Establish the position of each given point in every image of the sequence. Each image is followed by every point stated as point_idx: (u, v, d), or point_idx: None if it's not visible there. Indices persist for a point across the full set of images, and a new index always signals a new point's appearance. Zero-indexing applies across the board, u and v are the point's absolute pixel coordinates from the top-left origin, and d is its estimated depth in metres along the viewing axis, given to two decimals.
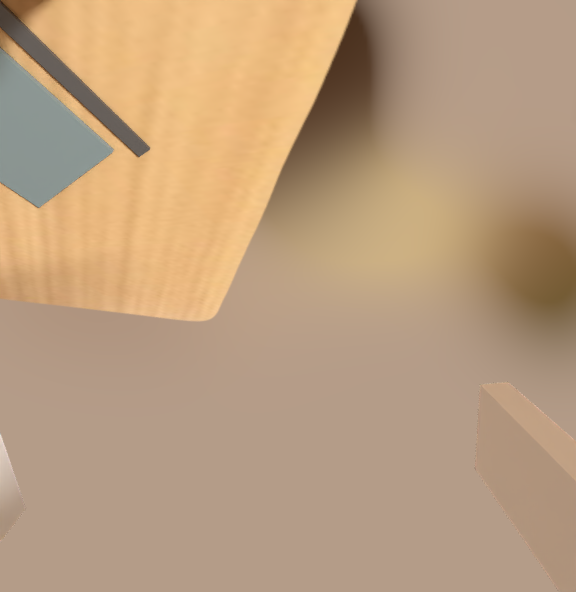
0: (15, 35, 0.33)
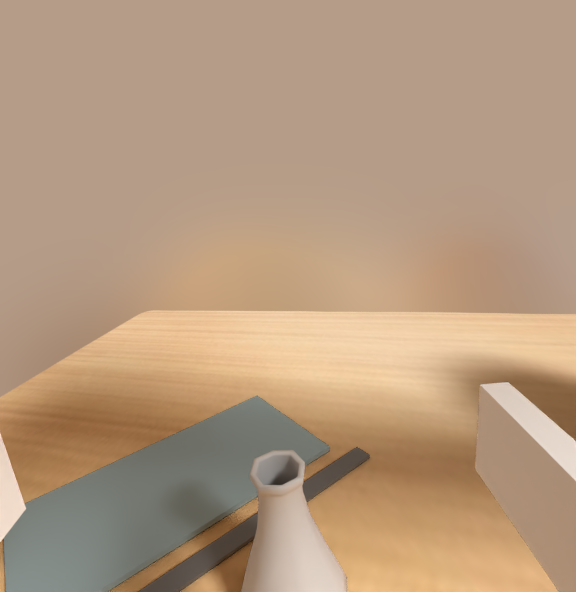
0: (201, 555, 0.28)
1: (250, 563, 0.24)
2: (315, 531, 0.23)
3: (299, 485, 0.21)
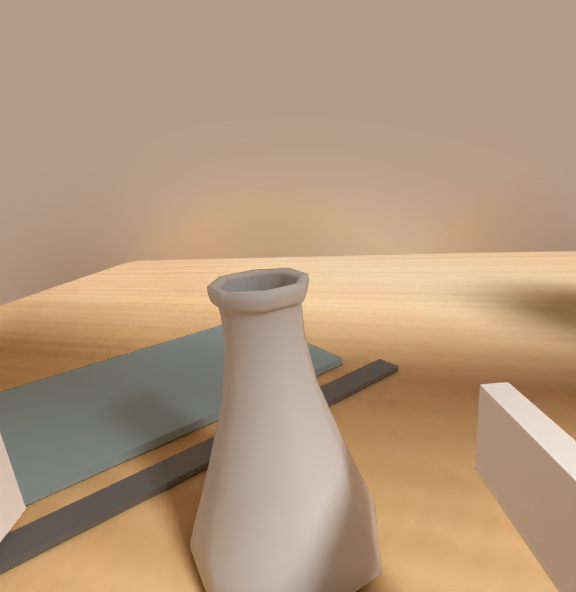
0: (145, 475, 0.18)
1: (210, 463, 0.14)
2: (325, 409, 0.13)
3: (298, 298, 0.11)
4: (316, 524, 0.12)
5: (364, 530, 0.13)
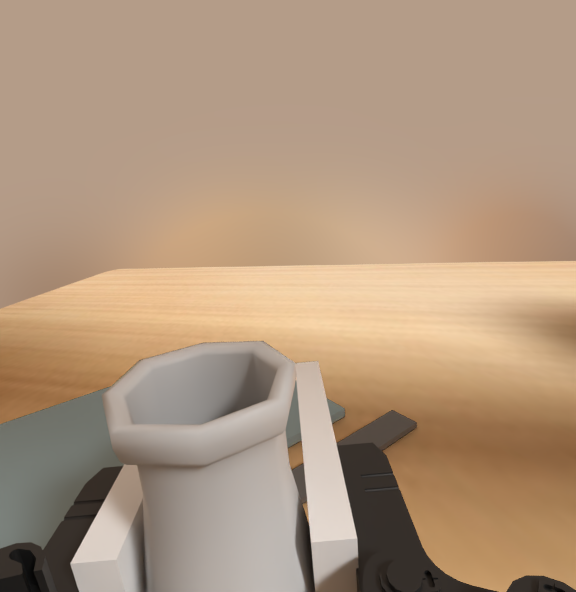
0: None
1: None
2: None
3: (272, 430, 0.06)
4: None
5: None
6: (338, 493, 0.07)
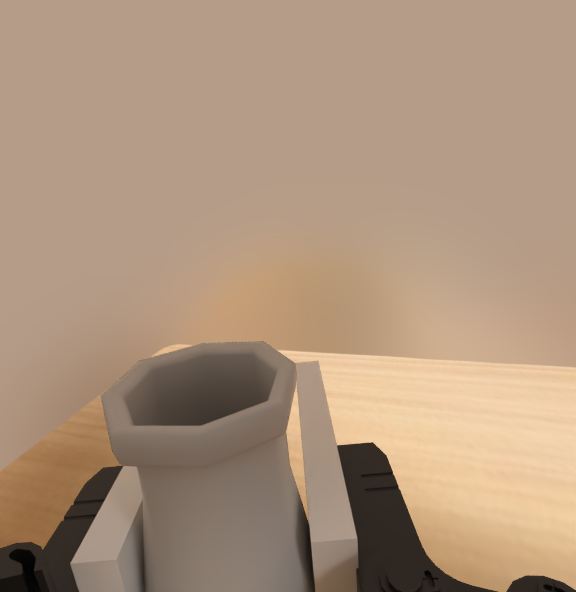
0: None
1: None
2: None
3: (273, 431, 0.06)
4: None
5: None
6: (338, 493, 0.07)
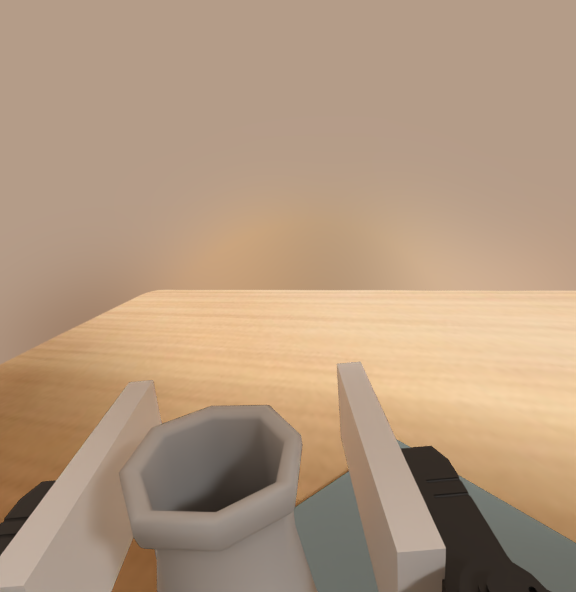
0: None
1: None
2: None
3: (282, 512, 0.06)
4: None
5: None
6: (414, 500, 0.07)
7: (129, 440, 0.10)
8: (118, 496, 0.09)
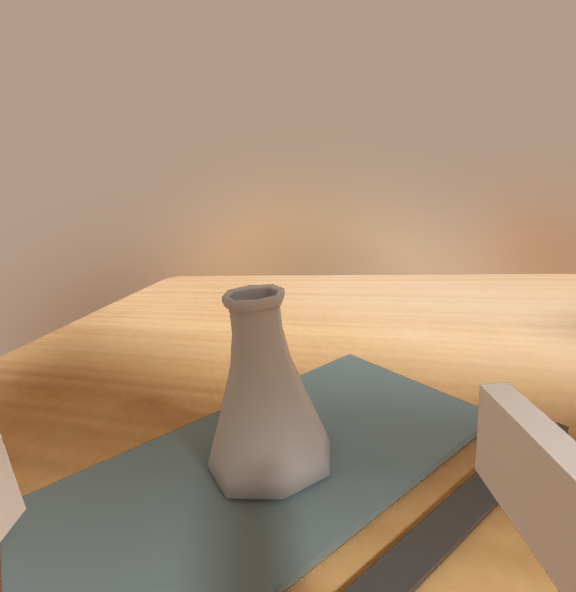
0: (364, 588, 0.15)
1: (222, 409, 0.21)
2: (295, 373, 0.21)
3: (277, 304, 0.19)
4: (289, 441, 0.20)
5: (318, 448, 0.20)
6: None
7: None
8: None
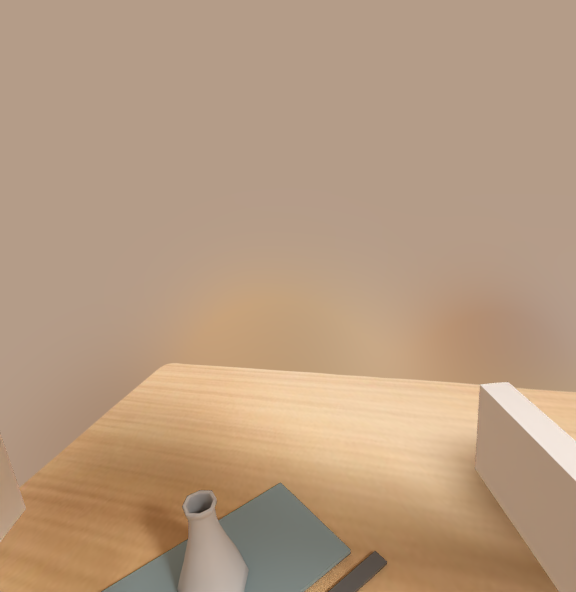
0: None
1: (184, 560, 0.38)
2: (224, 540, 0.38)
3: (210, 513, 0.36)
4: (218, 583, 0.37)
5: (236, 583, 0.38)
6: None
7: None
8: None
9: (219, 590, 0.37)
